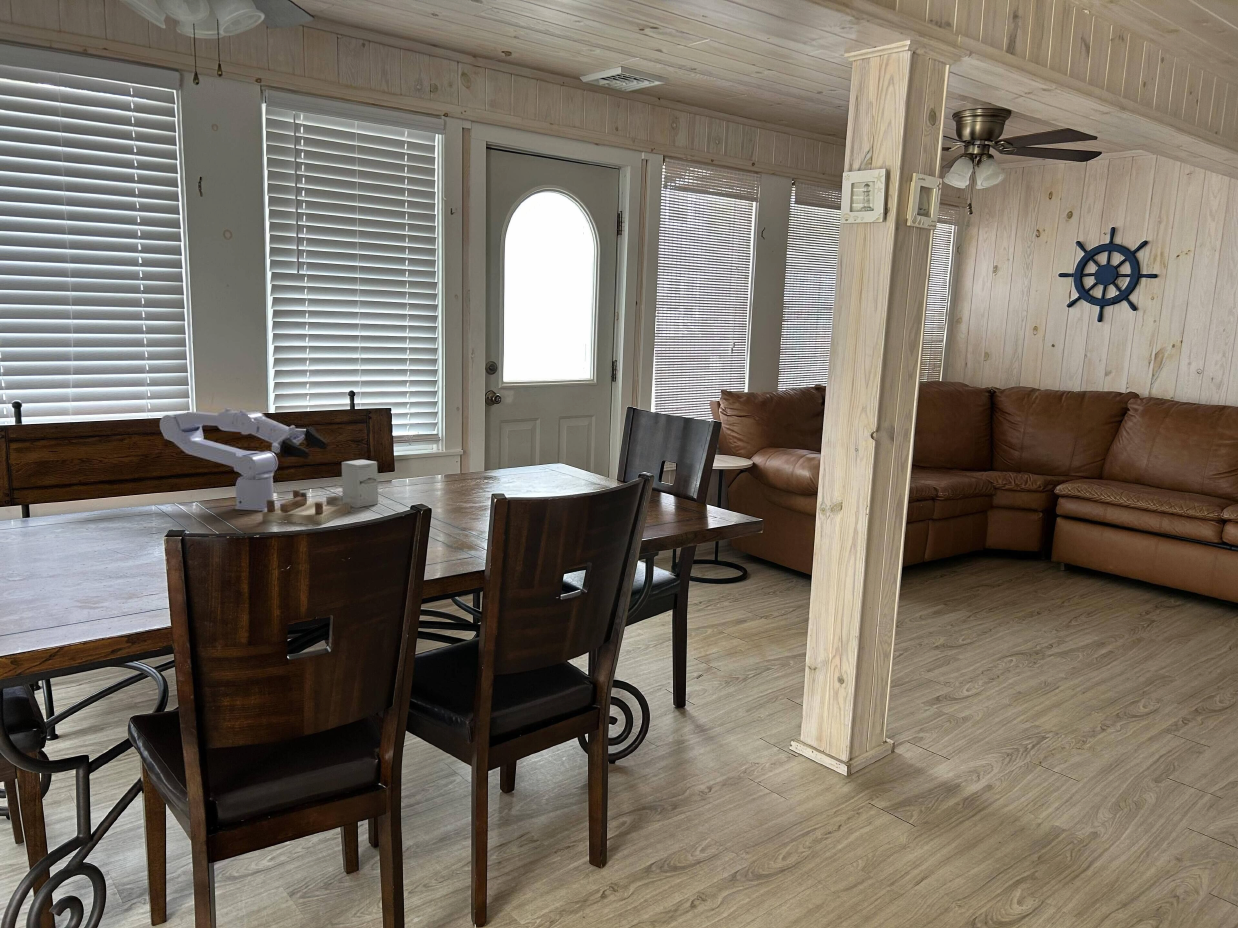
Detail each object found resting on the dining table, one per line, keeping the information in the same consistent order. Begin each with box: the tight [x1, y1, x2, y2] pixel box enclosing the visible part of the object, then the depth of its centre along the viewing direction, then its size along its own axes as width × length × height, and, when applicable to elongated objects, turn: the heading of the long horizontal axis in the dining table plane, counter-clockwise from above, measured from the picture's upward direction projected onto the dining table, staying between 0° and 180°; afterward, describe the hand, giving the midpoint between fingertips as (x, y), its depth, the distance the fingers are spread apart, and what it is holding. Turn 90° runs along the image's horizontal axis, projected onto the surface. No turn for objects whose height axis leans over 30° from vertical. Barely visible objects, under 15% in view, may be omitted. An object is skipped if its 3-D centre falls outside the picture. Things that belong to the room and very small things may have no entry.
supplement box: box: [341, 459, 379, 509], centre depth 262 cm, size 7×7×13 cm
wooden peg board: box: [261, 489, 351, 526], centre depth 248 cm, size 17×16×6 cm
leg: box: [280, 491, 308, 512], centre depth 246 cm, size 11×2×3 cm, turn 170°
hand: (317, 450), depth 247 cm, fingers open, 7 cm apart
